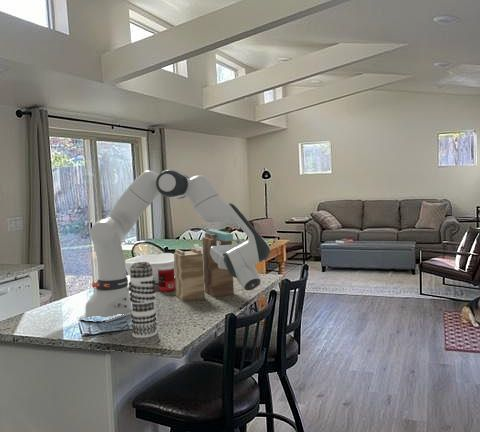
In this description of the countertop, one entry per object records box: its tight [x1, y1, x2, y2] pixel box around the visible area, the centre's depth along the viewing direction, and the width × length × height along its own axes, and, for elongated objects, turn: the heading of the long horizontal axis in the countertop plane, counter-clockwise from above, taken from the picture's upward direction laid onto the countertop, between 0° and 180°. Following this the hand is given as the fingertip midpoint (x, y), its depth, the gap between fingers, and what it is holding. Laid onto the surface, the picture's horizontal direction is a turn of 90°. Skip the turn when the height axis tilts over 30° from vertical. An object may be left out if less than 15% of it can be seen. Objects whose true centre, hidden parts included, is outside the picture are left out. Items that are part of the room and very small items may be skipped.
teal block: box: [205, 228, 234, 242], centre depth 231 cm, size 26×4×3 cm, turn 22°
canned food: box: [158, 266, 176, 293], centre depth 246 cm, size 8×8×11 cm
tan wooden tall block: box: [173, 247, 206, 302], centre depth 230 cm, size 12×10×22 cm
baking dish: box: [125, 252, 175, 285], centre depth 269 cm, size 34×28×13 cm
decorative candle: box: [128, 262, 158, 339], centre depth 176 cm, size 9×9×25 cm
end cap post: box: [201, 232, 235, 298], centre depth 235 cm, size 12×10×28 cm
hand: (228, 241), depth 220 cm, fingers open, 8 cm apart
